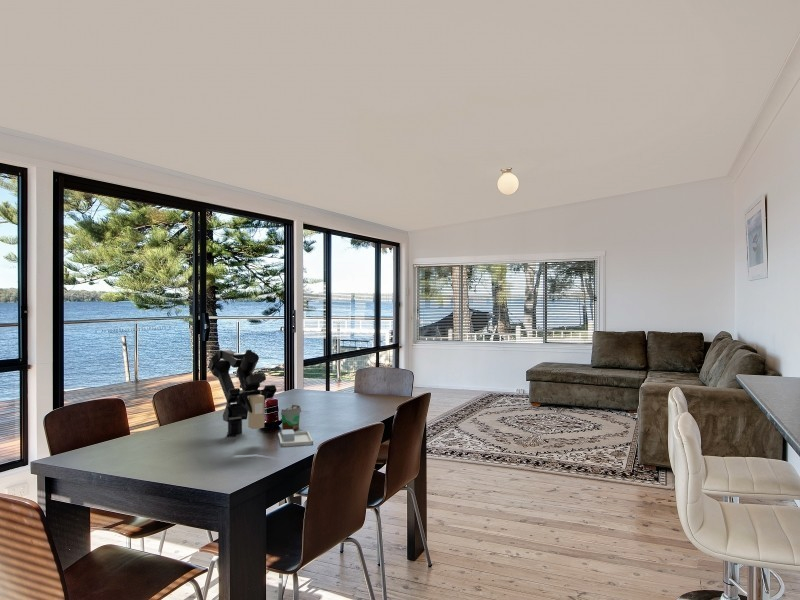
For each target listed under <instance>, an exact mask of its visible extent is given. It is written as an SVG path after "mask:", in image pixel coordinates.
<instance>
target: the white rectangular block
mask: <svg viewBox="0 0 800 600" xmlns="http://www.w3.org/2000/svg"><path fill="white" fill-rule="evenodd" d="M294 432H295V430H293V429H290V430H282V429H281V433H282V440H283V441H289V440H295V434H294Z"/></svg>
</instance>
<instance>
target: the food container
mask: <svg viewBox="0 0 800 600" xmlns="http://www.w3.org/2000/svg"><path fill="white" fill-rule="evenodd" d="M301 412H302V407H301V406H300V405H298V404H291V406H290V407H287V408H286V409H281V410H280V415H281V422H282V423H281V426H282V428H281V431H282V430H290V429H293V431H298V430H299V429H300V428H299V427H300V417H301V416H300V415H301Z"/></svg>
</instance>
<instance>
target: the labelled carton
mask: <svg viewBox="0 0 800 600" xmlns="http://www.w3.org/2000/svg"><path fill="white" fill-rule="evenodd" d="M248 400H249V402H250V405H251V408H252V413H250V412H249V411H248V415H247V420H248V426H247V427H248V428H250V429H252V430H256V429H263V428H265V410H264V396H263V395H260V394H259V395H250V396H248Z"/></svg>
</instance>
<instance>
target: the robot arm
mask: <svg viewBox="0 0 800 600" xmlns="http://www.w3.org/2000/svg"><path fill="white" fill-rule="evenodd" d="M259 360H260V357H259V354H257V353H256V352H254V351H252V349H246V350H245V352H236V351H233V350H231V349H229V348H225V349H224V348H222V349H219V350H217V352H216V354H214V355H212V357H211V358H210V360H209V363H208V368H209V370H210V372H211V374H212V376H213V377H215V378H217V379H218V381H219V384H220V386H221V389H222V392H223V395H224V397H225V400H226V405H225V408H224V411H223V413H222V420H223V421H224V422H226V423H227V432H226V437H228V438H229V437H236V436H238V435H241V434H243V420H248V411H249V412H250V413H252V408H251V405H250V402H249V400H248V396H250V395H259V394H260V395H263V396H264V411H266V410H265V407H266V400H269V399H273V398H274V396H275V394H276V392H277V389H278V388H277V386H276V385H275V384H268V385H264V388H263V389H260V387H261V383H263V382H265V381H266V380H267V376H266V373H265V372H259V373H257V374H256V373H255V374H254V372H253V371H255V369H256V367H257V364H258V362H259ZM231 367H232V368H237V369H236V375H235V377H236V378H238V382H239V384H240V385H239V387H237V388H235V387H236V386H235V385H234V382H233V380H232V377H231V375H230V370H231Z"/></svg>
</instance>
